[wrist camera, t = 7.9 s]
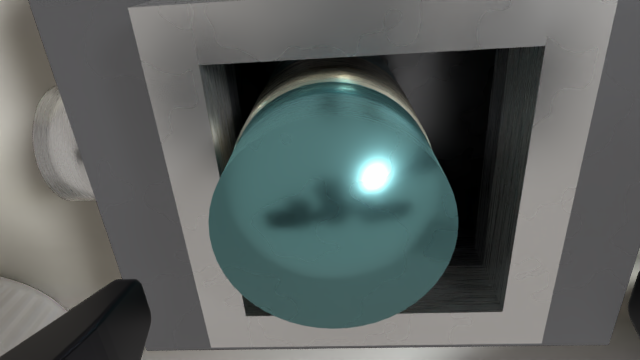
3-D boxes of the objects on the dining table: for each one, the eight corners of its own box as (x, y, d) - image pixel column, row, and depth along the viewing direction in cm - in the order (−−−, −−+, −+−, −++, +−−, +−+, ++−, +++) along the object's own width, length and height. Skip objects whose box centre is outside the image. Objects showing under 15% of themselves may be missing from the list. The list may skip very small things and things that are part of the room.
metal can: (406, 35, 16) (478, 113, 8) (396, 170, 18) (445, 331, 10) (258, 37, 16) (189, 114, 8) (267, 170, 18) (220, 329, 10)
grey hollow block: (621, -133, 14) (881, -202, 7) (545, 248, 20) (644, 397, 14) (46, -86, 15) (-187, -108, 8) (148, 259, 21) (63, 400, 15)
